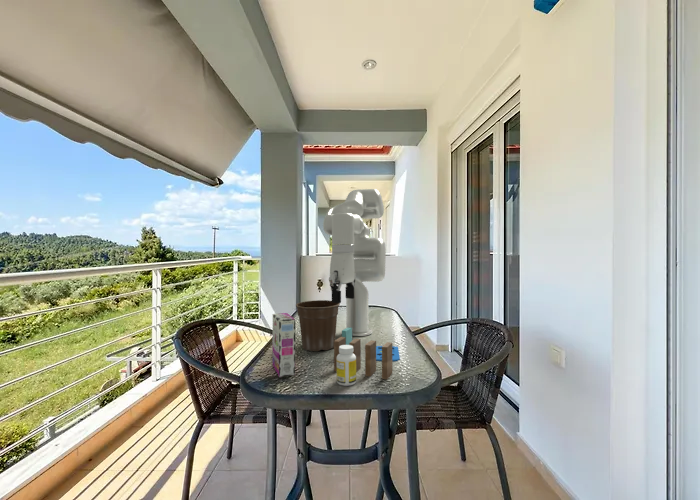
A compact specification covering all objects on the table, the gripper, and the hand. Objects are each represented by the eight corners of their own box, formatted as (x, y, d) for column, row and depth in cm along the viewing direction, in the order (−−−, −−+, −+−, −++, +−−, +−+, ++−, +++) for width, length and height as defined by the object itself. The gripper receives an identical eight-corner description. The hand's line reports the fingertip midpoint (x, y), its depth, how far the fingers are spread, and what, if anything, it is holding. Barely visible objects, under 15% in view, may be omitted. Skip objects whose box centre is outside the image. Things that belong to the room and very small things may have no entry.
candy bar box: (296, 375, 98) (296, 319, 97) (279, 378, 96) (278, 320, 96) (287, 363, 108) (287, 312, 108) (271, 365, 106) (271, 313, 106)
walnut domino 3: (365, 375, 97) (365, 344, 97) (371, 370, 102) (371, 340, 102) (370, 376, 97) (370, 345, 97) (376, 370, 101) (376, 340, 101)
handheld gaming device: (374, 358, 110) (375, 345, 125) (374, 361, 110) (375, 348, 125) (400, 359, 109) (397, 345, 124) (400, 362, 109) (397, 348, 124)
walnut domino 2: (349, 373, 99) (349, 342, 99) (355, 367, 104) (355, 338, 104) (354, 374, 99) (354, 343, 98) (360, 368, 103) (360, 339, 103)
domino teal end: (341, 357, 113) (341, 330, 113) (347, 353, 118) (347, 327, 118) (346, 358, 113) (346, 331, 113) (352, 353, 117) (351, 327, 117)
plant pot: (287, 351, 121) (287, 306, 120) (307, 339, 136) (307, 299, 136) (330, 355, 115) (329, 308, 115) (346, 342, 131) (345, 301, 130)
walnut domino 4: (381, 378, 95) (381, 346, 95) (387, 372, 100) (387, 342, 100) (387, 379, 95) (387, 347, 95) (392, 373, 99) (392, 342, 99)
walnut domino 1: (334, 370, 101) (333, 341, 101) (341, 365, 106) (341, 336, 106) (338, 371, 101) (338, 341, 100) (345, 366, 105) (345, 337, 105)
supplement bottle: (355, 378, 96) (355, 343, 95) (356, 386, 90) (356, 349, 90) (336, 378, 95) (336, 343, 95) (336, 386, 90) (336, 349, 90)
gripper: (345, 249, 123) (345, 296, 124) (320, 250, 108) (320, 303, 108) (363, 249, 120) (364, 297, 120) (340, 250, 105) (341, 305, 105)
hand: (343, 300), depth 114 cm, fingers open, 9 cm apart
